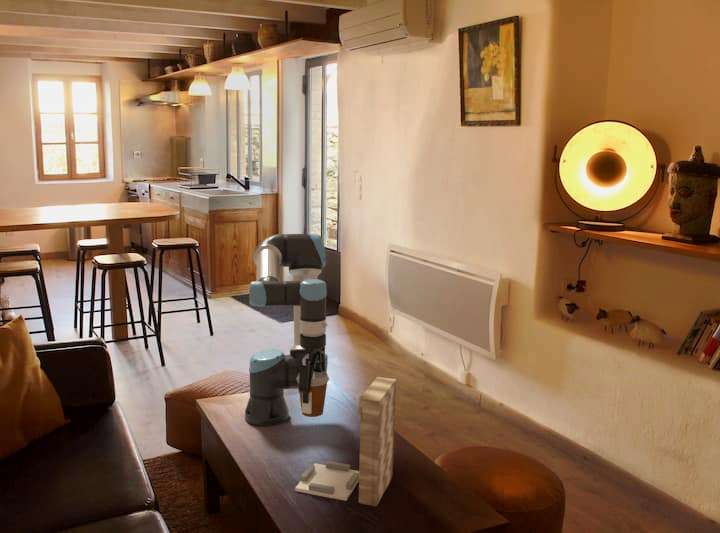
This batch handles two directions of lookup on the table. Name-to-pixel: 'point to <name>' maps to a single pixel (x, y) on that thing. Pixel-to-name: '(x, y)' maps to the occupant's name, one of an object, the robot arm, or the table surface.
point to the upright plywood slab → (376, 439)
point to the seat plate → (329, 480)
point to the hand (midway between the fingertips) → (312, 407)
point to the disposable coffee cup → (316, 393)
